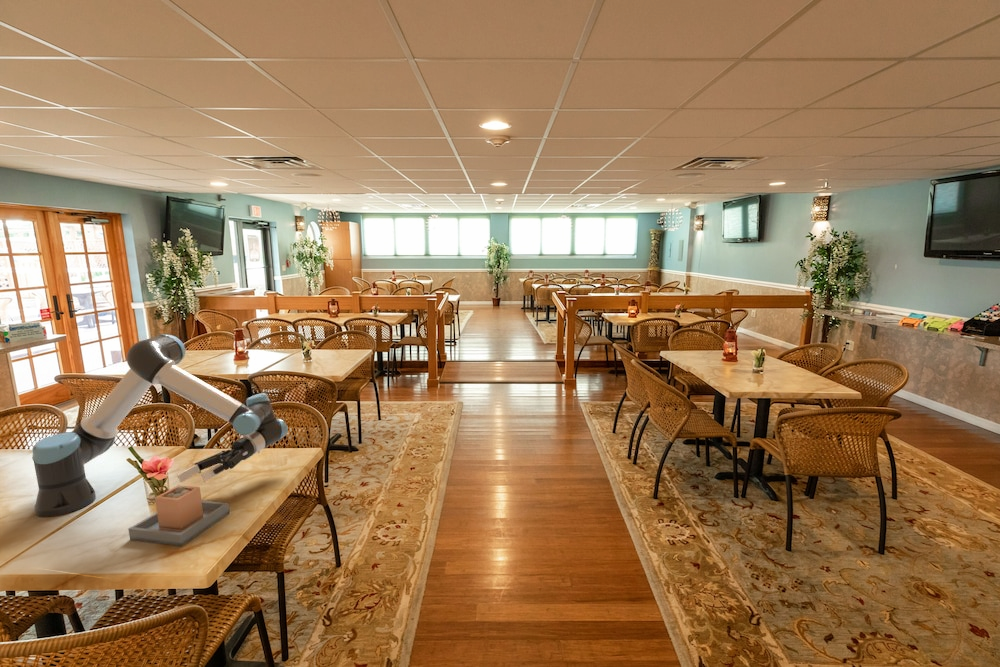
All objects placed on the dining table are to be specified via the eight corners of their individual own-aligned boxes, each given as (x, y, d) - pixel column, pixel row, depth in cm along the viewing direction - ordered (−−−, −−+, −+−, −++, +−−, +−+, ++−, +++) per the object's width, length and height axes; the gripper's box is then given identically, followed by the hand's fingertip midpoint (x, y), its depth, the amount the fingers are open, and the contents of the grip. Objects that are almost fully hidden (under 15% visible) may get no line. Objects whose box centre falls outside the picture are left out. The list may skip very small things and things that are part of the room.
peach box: (159, 528, 143) (154, 494, 141) (181, 514, 150) (177, 482, 149) (181, 531, 141) (177, 496, 139) (203, 517, 149) (199, 484, 147)
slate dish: (130, 539, 139) (128, 528, 138) (182, 508, 156) (180, 498, 156) (182, 546, 135) (180, 535, 135) (229, 513, 153) (228, 503, 152)
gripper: (273, 453, 167) (218, 488, 149) (231, 456, 179) (174, 488, 161) (266, 434, 166) (208, 466, 148) (223, 438, 178) (165, 469, 159)
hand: (190, 478), depth 154 cm, fingers open, 13 cm apart
